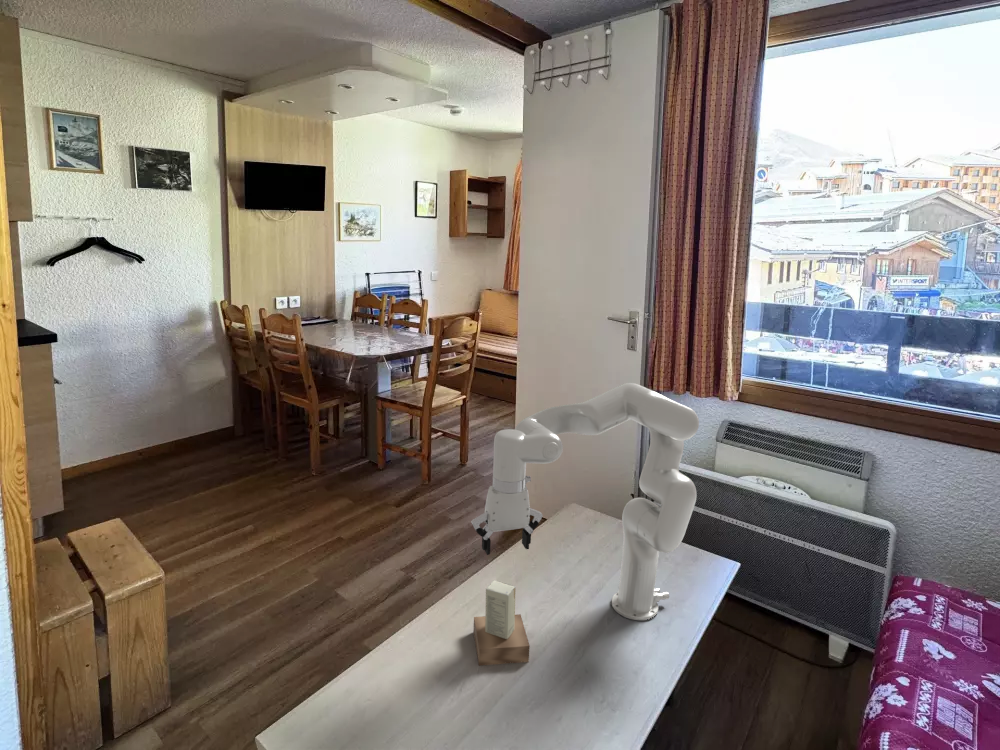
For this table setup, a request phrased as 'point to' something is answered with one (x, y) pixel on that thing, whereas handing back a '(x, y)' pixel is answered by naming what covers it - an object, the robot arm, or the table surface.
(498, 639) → the walnut block
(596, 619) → the table surface
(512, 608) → the skincare box
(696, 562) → the table surface
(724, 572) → the table surface
